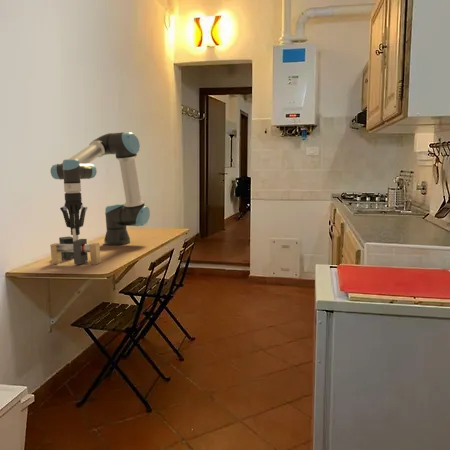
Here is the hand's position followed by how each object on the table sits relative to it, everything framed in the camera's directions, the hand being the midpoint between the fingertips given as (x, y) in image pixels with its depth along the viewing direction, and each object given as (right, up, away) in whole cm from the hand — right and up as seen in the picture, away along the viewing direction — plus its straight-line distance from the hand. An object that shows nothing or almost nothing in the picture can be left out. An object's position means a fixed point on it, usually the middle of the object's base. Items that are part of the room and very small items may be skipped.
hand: (75, 241), depth 224 cm
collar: (+2, -4, 0) cm, 4 cm away
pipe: (0, -10, +2) cm, 11 cm away
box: (-9, -9, +16) cm, 21 cm away
